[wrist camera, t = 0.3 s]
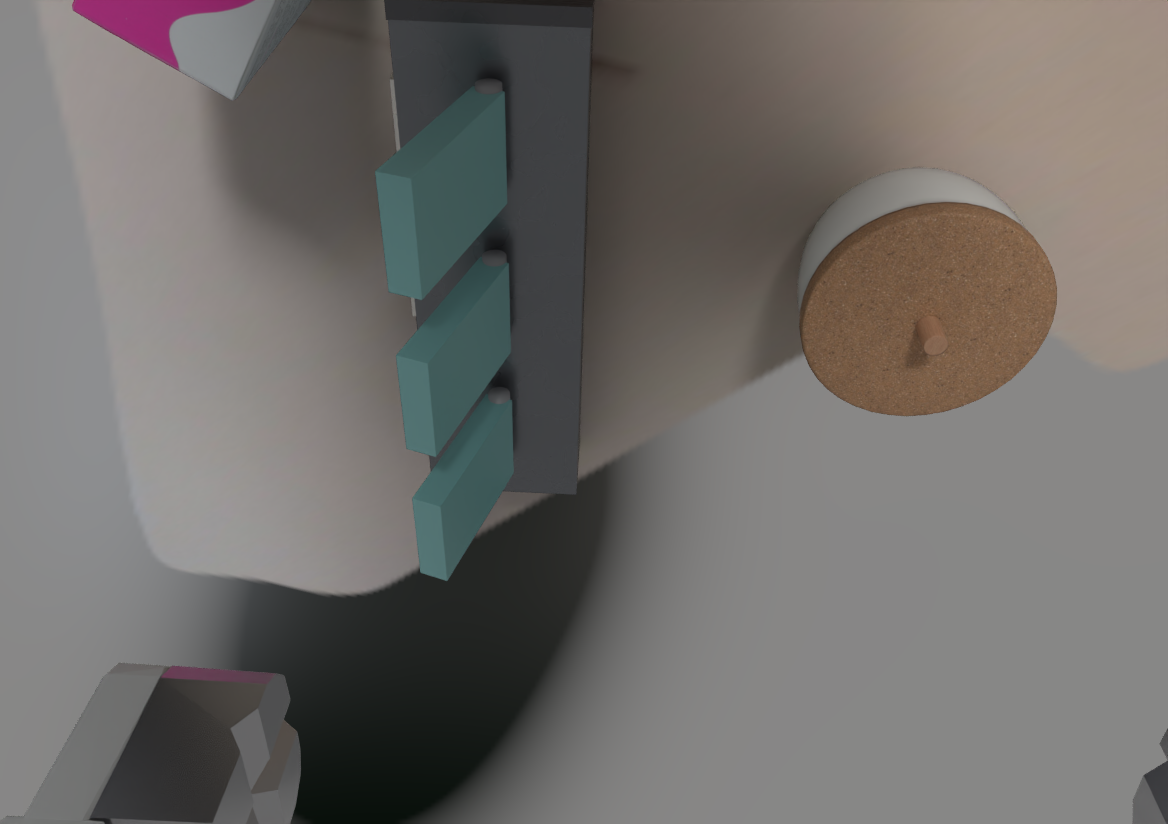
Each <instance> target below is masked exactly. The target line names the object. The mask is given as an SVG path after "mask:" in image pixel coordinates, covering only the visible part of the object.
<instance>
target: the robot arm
mask: <svg viewBox="0 0 1168 824" xmlns="http://www.w3.org/2000/svg"><path fill="white" fill-rule="evenodd" d="M289 702H290V696H289V692H288V688H287V685H286V681H285V677H284V675H279V674H274V673H260V672H247V671H234V670H220V669H207V668H195V667H182V666H181V667H180V666H161V665H145V664H130V663H118V664H117V665H116V666H115V667H114V668H113V669H111V670H110V671H109V672H108V673H107V674H106V675H105V676H104V677H103V678H102V680H101V682H100V684H99V685H98V687H97V689H96V690H95V692H94V694H93V696H92V697H91V699H90V701H89V703H88V704H87V706H86V708H85V710H84V712H83V713H82V715H81V717H80V718H79V720H78V722H77V724H76V725H75V727H74V729H73V731H72V733H71V734H70V736H69V738H68V739H67V742H66V743H65V745H64V747H63V748H62V750H61V752H60V753H59V755H58V757H57V759H56V761H55V762H54V764H53V766H52V768H51V769H50V771H49V773H48V775H47V776H46V778H45V780H44V782H43V783H42V785H41V787H40V789H39V790H38V792H37V794H36V796H35V797H34V799H33V801H32V803H31V804H30V806H29V808H28V810H27V812H26V813H25V815H24V816H6V817H5V818H3V819H2V820H1V821H0V824H290V822H291V818H292V815H293V812H294V808H295V805H296V799H297V793H298V786H299V780H300V773H301V769H300V768H301V767H300V766H301V765H300V745H299V740H298V735H297V731H296V730H294V729H293V728H292V727H291V726H290V725H288V724H287V723H286V722H285V721H284V720H283V719H284V716H285V714H286V711H287V708H288V705H289ZM1160 745H1161V747H1162V749H1163V751H1164V753H1165V755H1166V757H1167V759H1168V729H1167V731H1166V733H1165V734H1164V736H1163V738H1162V740H1161V742H1160ZM1133 824H1168V761H1166V762H1165V763H1163V764H1162V765H1160V766H1158V767H1156V768H1155V769H1153V770H1151V771H1150V772H1148V773H1146V774H1145V775H1144V776H1143V778H1142V780H1141V782H1140V785H1139V787H1138V789H1137V792H1136V794H1135V796H1134V799H1133Z"/></svg>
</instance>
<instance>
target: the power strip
mask: <svg viewBox="0 0 1168 824" xmlns="http://www.w3.org/2000/svg"><path fill="white" fill-rule="evenodd" d="M594 1H595V0H384V2H385V12H386V20H388V25H389V35H390V46H391V56H392V67H393V73H392V75H391V77H390V89H391V100H392V110H393V120H394V130H395V141H396V151H397V152H398V151H399V150H400V149H401V148H402V147H403V146H404V145H406V144H407V143H408V142H409V141H410V140H411V139H412V138H414V137H415V136H416V135H417V134H418V133H419V132H421V131H422V130H423V129H424V128H425V127H426V126H427V125H429V124H430V123H431V122H432V121H433V120H434V119H435V118H437V117H438V116H439V115H440V114H441V113H442V112H443V111H445V110H446V109H447V108H448V107H449V106H450V105H451V104H453V103H454V102H455V101H456V100H457V99H458V98H459V97H461V96H462V95H463V94H464V93H465V92H466V91H467V90H469V89H470V88H471V87H472V86H475V82H476V81H478V80H480V79H486V78H491V79H497V80H499V81H501V82H502V91H504V92H505V126H506V168H507V204H506V206H505V207H504V208H503V209H502V210H501V211H500V212H499V213H498V215H497V216H496V217H495V218H494V219H493V220H492V221H491V223H490V224H489V225H488V226H487V227H486V228H485V229H484V230H483V232H482V233H481V234H480V235H479V236H478V237H477V238H476V240H475V241H474V242H473V243H472V244H471V245H470V246H469V247H468V249H467V250H466V251H465V252H464V253H463V254H462V255H461V257H460V258H459V259H458V260H457V261H456V262H455V263H454V264H453V266H452V267H451V268H450V269H449V270H448V271H447V272H446V274H445V275H444V276H443V277H442V278H441V279H440V280H439V281H438V283H437V284H436V285H435V286H434V287H433V288H432V289H431V291H430V292H429V293H428V294H427V295H426V296H425V297H424V298H423V300H420V299H415V298H411V305H412V315H413V316H416V320H417V330H418V329H419V328H420V327H421V326H422V324H423V323H424V322H425V321H426V320H427V319H428V317H429V316H430V315H431V314H432V313H433V312H434V310H435V309H436V308H437V307H438V306H439V305H440V303H441V302H442V301H443V300H444V299H445V298H446V296H447V295H448V294H449V293H450V292H451V290H452V289H453V288H454V287H455V286H456V285H457V283H458V282H459V281H460V280H461V279H462V278H463V276H464V275H465V274H466V273H467V272H468V271H469V269H470V268H471V267H472V266H473V265H474V264H475V262H476V261H477V260H478V259H479V258H480V257H482V255H483V253H484V252H486V251H489V250H500V251H503V252H505V253H506V255H507V263H509V296H510V338H511V353H510V354H509V356H508V357H507V358H506V360H505V361H504V363H503V364H502V365H501V367H500V368H499V370H498V371H497V372H496V374H495V375H494V377H493V378H492V379H491V381H490V382H489V384H488V385H487V386H486V388H485V389H484V391H483V392H482V393H481V395H480V396H479V398H478V399H477V400H476V402H475V403H474V405H473V406H472V407H471V409H470V410H469V412H468V413H467V414H466V416H465V417H464V419H463V420H462V421H461V423H460V424H459V426H458V427H457V428H456V430H455V431H454V433H453V434H452V435H451V437H450V438H449V440H448V441H447V442H446V444H445V445H444V447H443V448H442V449H441V451H440V452H439V454H438V455H437V456H436V457H434V456H430V455H429V457H430V467H431V471H432V470H433V468H434V467H435V466H436V464H437V463H438V461H439V460H440V458H441V457H442V456H443V454H444V453H445V451H446V450H447V449H448V447H449V446H450V444H451V443H452V442H453V440H454V439H455V437H456V436H457V434H458V433H459V432H460V430H461V429H462V427H463V426H464V425H465V423H466V422H467V420H468V419H469V417H470V416H471V415H472V413H473V412H474V410H475V409H476V408H477V406H478V405H479V403H480V402H481V401H482V399H483V398H484V396H485V395H486V394H488V392H489V391H490V390H491V389H492V388H495V387H503V388H506V389H508V390H509V392H510V400H512V423H513V465H514V473H513V475H512V476H511V478H510V480H509V481H508V483H507V485H506V486H505V488H504V489H503V491H511V492H532V493H554V494H575V495H576V492H577V476H578V460H579V443H580V412H581V381H582V350H583V319H584V288H585V257H586V226H587V195H588V164H589V133H590V102H591V71H592V40H593V12H594Z"/></svg>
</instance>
